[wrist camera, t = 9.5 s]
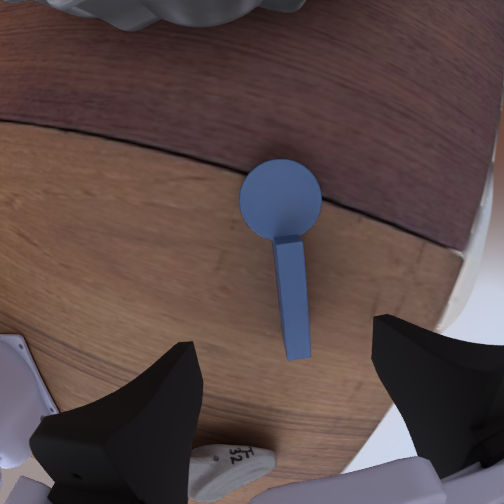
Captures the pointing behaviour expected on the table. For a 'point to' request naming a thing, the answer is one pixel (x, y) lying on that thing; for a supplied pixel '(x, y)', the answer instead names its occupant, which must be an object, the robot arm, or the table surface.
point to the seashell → (225, 469)
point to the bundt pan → (166, 10)
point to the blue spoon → (285, 237)
